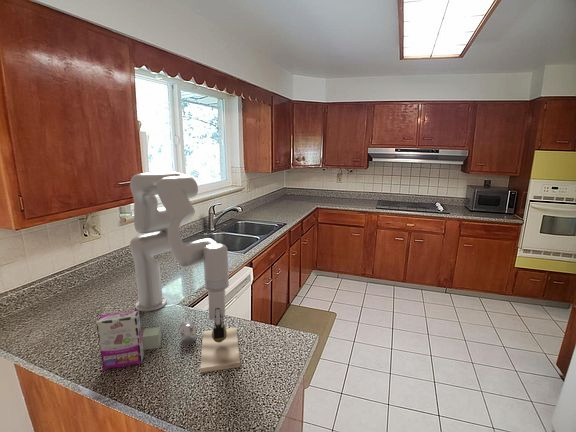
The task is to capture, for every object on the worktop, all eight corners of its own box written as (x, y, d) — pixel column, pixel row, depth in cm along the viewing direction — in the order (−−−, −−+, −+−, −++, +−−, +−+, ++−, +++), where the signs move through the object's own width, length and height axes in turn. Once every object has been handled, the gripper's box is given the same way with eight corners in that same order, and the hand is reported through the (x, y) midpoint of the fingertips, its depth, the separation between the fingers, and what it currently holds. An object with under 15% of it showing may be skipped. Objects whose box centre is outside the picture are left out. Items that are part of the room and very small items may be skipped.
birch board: (203, 334, 114) (203, 331, 114) (236, 330, 117) (236, 327, 116) (200, 372, 95) (200, 368, 95) (240, 366, 98) (240, 362, 97)
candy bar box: (144, 354, 103) (139, 309, 100) (142, 364, 99) (136, 317, 95) (107, 360, 100) (100, 314, 97) (102, 370, 96) (95, 322, 92)
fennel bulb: (223, 345, 102) (221, 312, 100) (209, 343, 103) (207, 310, 100) (229, 335, 108) (228, 303, 105) (215, 333, 109) (214, 302, 106)
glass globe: (181, 336, 113) (180, 321, 112) (196, 335, 114) (195, 320, 113) (180, 345, 108) (179, 329, 107) (195, 343, 109) (194, 327, 108)
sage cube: (146, 341, 111) (145, 328, 109) (161, 339, 112) (160, 326, 111) (143, 350, 106) (141, 336, 105) (159, 348, 107) (157, 334, 106)
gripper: (205, 272, 108) (208, 319, 112) (203, 295, 92) (206, 349, 96) (227, 270, 110) (229, 316, 114) (229, 292, 93) (231, 345, 97)
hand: (219, 331), depth 105 cm, fingers closed on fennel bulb, 6 cm apart
